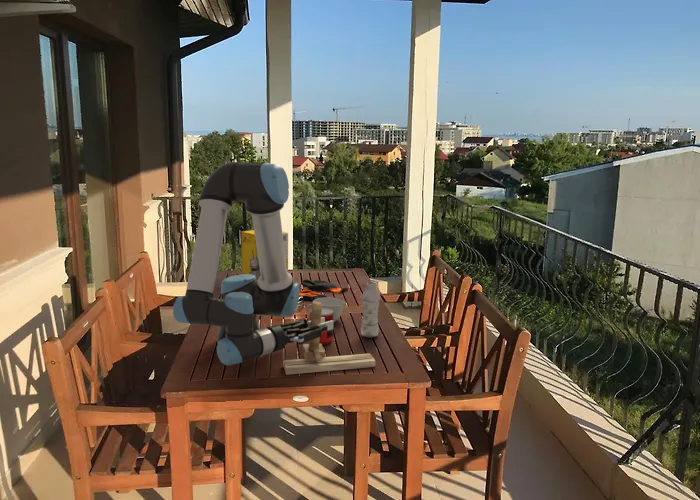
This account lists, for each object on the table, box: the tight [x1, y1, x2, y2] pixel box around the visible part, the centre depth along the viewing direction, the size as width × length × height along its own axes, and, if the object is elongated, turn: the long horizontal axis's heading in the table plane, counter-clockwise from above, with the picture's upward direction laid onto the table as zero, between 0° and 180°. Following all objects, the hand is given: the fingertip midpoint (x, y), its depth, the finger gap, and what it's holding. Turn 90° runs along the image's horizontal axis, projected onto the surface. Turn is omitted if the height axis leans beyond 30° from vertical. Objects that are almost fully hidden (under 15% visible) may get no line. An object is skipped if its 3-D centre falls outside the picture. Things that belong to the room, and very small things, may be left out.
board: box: [282, 353, 377, 375], centre depth 165 cm, size 6×28×2 cm, turn 105°
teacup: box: [305, 296, 346, 323], centre depth 208 cm, size 15×12×8 cm
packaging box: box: [241, 229, 289, 280], centre depth 261 cm, size 16×16×25 cm
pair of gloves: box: [299, 279, 349, 302], centre depth 248 cm, size 27×24×3 cm
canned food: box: [309, 308, 334, 346], centre depth 186 cm, size 8×8×11 cm
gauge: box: [301, 301, 326, 361], centre depth 165 cm, size 11×6×18 cm, turn 15°
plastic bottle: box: [360, 281, 381, 338], centre depth 190 cm, size 6×7×20 cm
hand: (328, 322), depth 171 cm, fingers closed on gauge, 3 cm apart
